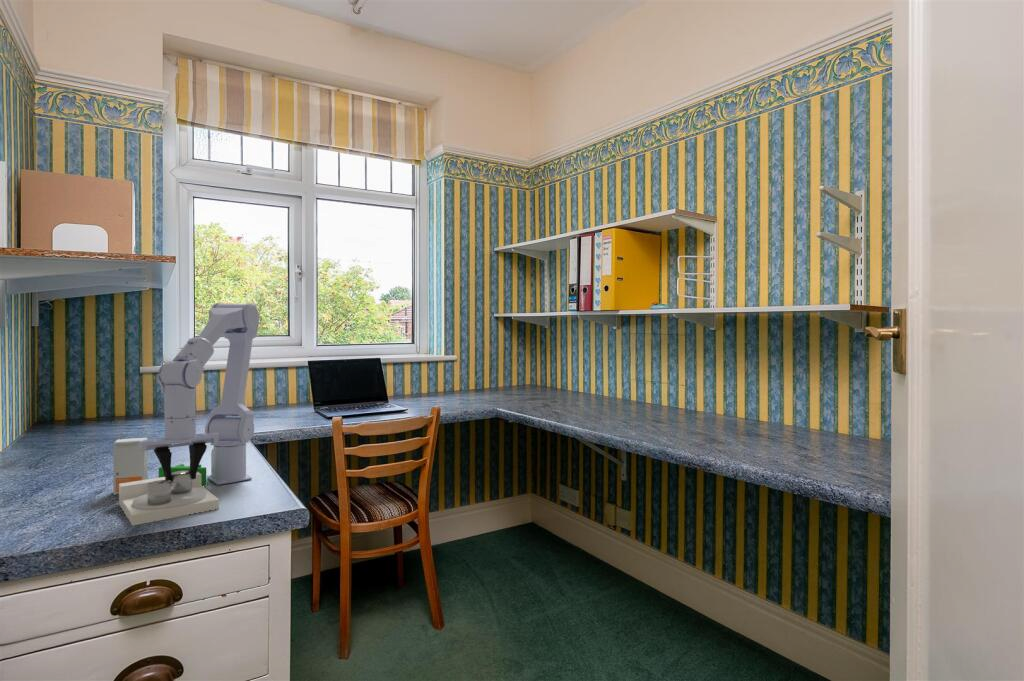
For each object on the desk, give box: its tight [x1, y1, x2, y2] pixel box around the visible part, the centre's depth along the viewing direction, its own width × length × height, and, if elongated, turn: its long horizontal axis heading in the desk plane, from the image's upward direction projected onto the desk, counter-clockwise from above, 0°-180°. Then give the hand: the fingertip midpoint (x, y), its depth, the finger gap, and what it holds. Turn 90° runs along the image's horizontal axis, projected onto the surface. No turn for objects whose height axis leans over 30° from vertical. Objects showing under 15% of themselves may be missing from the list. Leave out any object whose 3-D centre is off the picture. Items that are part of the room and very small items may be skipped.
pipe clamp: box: [158, 463, 207, 487], centre depth 134 cm, size 11×4×5 cm, turn 86°
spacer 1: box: [147, 480, 171, 506], centre depth 112 cm, size 4×4×4 cm
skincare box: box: [112, 437, 149, 496], centre depth 128 cm, size 6×4×12 cm
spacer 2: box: [171, 471, 192, 494], centre depth 119 cm, size 4×4×4 cm
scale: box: [118, 472, 220, 527], centre depth 117 cm, size 17×15×4 cm
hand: (180, 480), depth 119 cm, fingers closed on spacer 2, 4 cm apart
